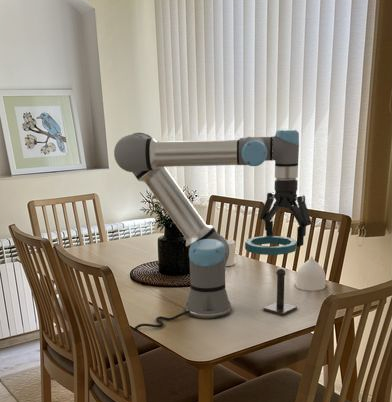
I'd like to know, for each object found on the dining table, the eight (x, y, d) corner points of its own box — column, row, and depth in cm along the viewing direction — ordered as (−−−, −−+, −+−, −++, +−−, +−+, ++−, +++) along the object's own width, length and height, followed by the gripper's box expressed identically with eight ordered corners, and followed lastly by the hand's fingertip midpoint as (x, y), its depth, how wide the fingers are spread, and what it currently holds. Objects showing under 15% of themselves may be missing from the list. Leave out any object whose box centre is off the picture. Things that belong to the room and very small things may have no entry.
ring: (275, 257, 171) (275, 250, 171) (235, 249, 183) (235, 242, 182) (306, 247, 182) (306, 240, 181) (266, 240, 193) (266, 233, 193)
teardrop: (315, 280, 213) (317, 250, 209) (331, 288, 203) (332, 257, 199) (290, 283, 210) (291, 253, 206) (304, 292, 200) (305, 260, 196)
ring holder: (283, 316, 179) (284, 273, 174) (263, 310, 184) (263, 269, 179) (296, 309, 184) (298, 267, 179) (277, 304, 189) (278, 263, 184)
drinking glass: (238, 263, 239) (238, 240, 235) (229, 267, 232) (229, 244, 229) (223, 261, 243) (222, 238, 239) (214, 265, 236) (213, 242, 233)
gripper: (324, 180, 174) (321, 246, 181) (264, 175, 191) (263, 235, 198) (311, 183, 169) (308, 250, 176) (250, 177, 186) (249, 239, 193)
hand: (284, 242), depth 187 cm, fingers closed on ring, 12 cm apart
